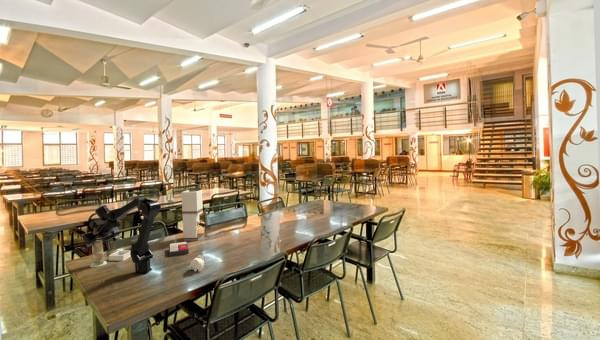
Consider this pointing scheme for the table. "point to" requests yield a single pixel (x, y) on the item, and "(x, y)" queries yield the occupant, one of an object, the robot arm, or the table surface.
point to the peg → (97, 252)
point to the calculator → (178, 249)
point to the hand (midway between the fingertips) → (95, 243)
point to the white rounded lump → (197, 263)
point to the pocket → (120, 255)
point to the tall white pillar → (191, 214)
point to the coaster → (98, 265)
